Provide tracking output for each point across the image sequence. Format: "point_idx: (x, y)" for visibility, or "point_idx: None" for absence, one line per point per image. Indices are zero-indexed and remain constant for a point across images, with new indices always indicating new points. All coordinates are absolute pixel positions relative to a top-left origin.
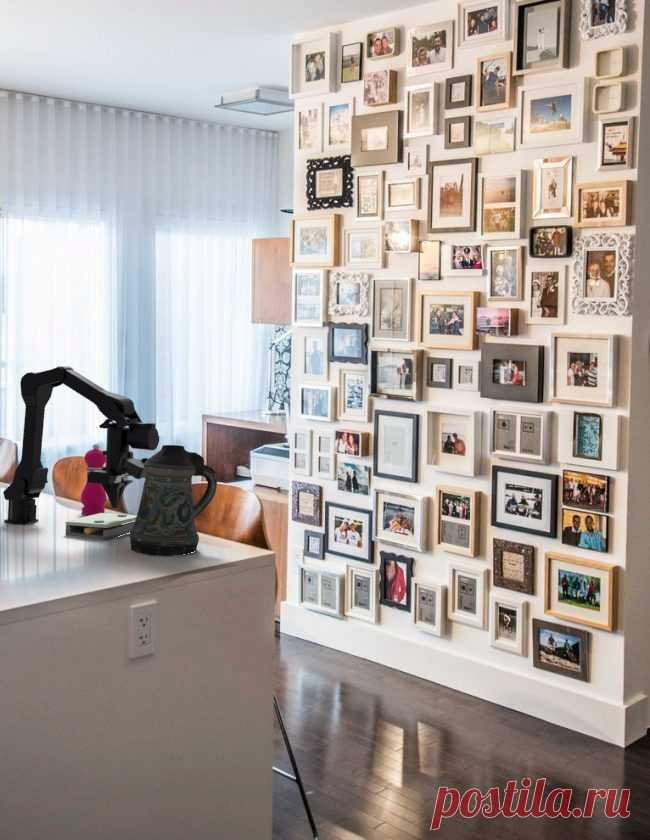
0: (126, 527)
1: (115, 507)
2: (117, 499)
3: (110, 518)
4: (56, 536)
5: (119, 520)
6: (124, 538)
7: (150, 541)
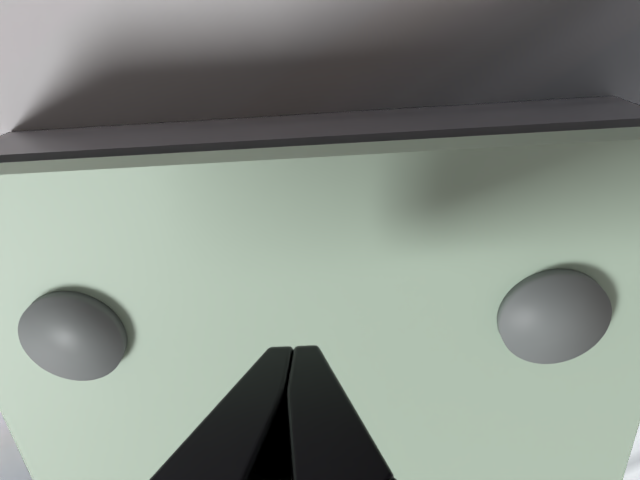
0: (256, 133)
1: (323, 357)
2: (332, 427)
3: (273, 346)
4: (634, 454)
5: (350, 194)
6: (422, 26)
7: None
